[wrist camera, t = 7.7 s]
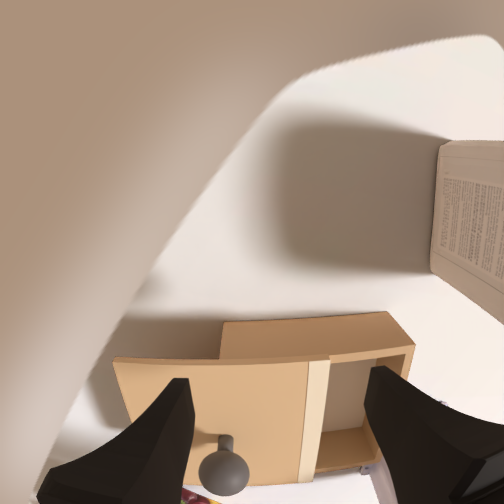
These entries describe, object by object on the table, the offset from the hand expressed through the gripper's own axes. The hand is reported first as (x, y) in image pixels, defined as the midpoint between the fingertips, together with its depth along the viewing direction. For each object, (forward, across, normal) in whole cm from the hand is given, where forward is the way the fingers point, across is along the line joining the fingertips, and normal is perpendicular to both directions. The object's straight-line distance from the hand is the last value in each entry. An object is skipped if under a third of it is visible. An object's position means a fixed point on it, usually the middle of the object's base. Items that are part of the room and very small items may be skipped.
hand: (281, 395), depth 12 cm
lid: (+5, +3, +8) cm, 10 cm away
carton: (+10, -3, +8) cm, 13 cm away
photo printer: (+11, -14, -6) cm, 18 cm away
